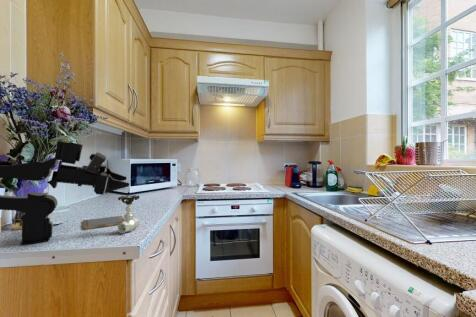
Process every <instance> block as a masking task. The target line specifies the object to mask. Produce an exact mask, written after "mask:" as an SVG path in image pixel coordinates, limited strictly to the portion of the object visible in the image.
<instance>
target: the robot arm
mask: <svg viewBox="0 0 476 317" xmlns="http://www.w3.org/2000/svg"><path fill="white" fill-rule="evenodd" d="M83 146H84V144H81V143H75V142H71V141H70V142H66V141H59V140H58V141H57V142H56V150H55V154H54V157H53V158H49V159H47V160H45V161H32V162H31V161H30V162H23V163H17V164H11V165H5V164H4V165H0V179H16V180H23V181H24V180H25V181H33V182H35V181H36V182H39V181H43V180H45V179H47V178H49V177H50V176H51V179H50V180H47V183H48V184H49V185H50V186H51V187H52V189H56V188H57V187H58V183H61V184H62V183H63V184H71V185H72V184H73V185H77V187H82V186H88V187H89V186H90V187H92V188H93V192H94V194H96V195H101V196H102V195H103V196H104V194H107V193H111V192H114V191H117V190H121V189H124V188H127V187H129V186H130V182H127V181H126V180H127V176H124V175H123V174H119V173H116V172H114V171H112V170H111V169H110V167H109V166H107V165H105V164H103V163H104V162H106V159H107V156H106V155H104V154H102V153H101V152H98V151H97V152H95V153H91V154H90V155H89V157H88V158H89V160H90V162H89V163H88V164H87V165H82V166H74V165H76V162H80V159H81V156H82V155H81V154H82V150H83ZM64 163H65V164H64ZM68 164H72V165H68ZM57 166H58V167H57ZM55 167H57V170H53V169H54V168H55ZM52 171H53V172H52ZM57 206H58V200H57V198H56V197H55V196H54V195H51V194H49V192H36V191H30V192H29V193H27V195H26V196H13V195H1V194H0V211H1V210H2V211H15V212H19V213H23V215H22V216H20V220H21V242H20V244H19V245H21V246H23V245H29V244H37V243H38V244H39V243H43V242H48V241H50V239H51V238H52V236H53V222H51V217H49V215H50V214H53V212H54V211H55V209H56V208H57Z"/></svg>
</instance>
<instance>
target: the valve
mask: <svg viewBox="0 0 476 317" xmlns="http://www.w3.org/2000/svg"><path fill="white" fill-rule="evenodd" d="M139 199H140V195H135V194H133V195H126V196H125V195H120V196H118V198H117V201H121V202H122V203H123V204H125V205H126V207H125V212H126V213H125V214H124V215H123V218H124V220H125V221H124V222H122V223H120V224H119V225H117V232H119V233H120V234H121V235H123V234H125V233H131V232H133V231H134V230H135V229H137V228H139V227H140V220H139V219H138V218H136V217H135V216H134V214H133V212H132V211H133V207H132V206H131V205H132V204H133V202H134V201H136V200H139Z"/></svg>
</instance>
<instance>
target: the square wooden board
mask: <svg viewBox="0 0 476 317" xmlns="http://www.w3.org/2000/svg"><path fill="white" fill-rule="evenodd" d="M124 221H125V218H124V216H122V215H116V216H107V217H100V218H91V219H82V230H83V231H86V230H94V229H102V228H108V227H114V226H115V227H116V226H117V227H118V225H119V224H120V223H122V222H124Z"/></svg>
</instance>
